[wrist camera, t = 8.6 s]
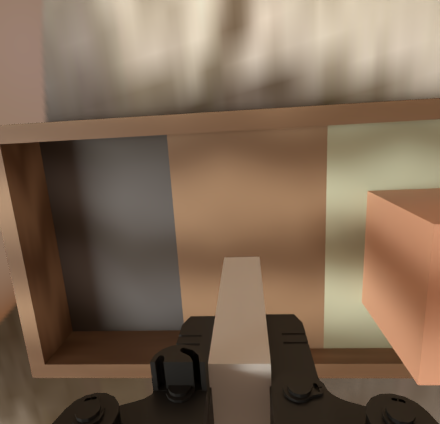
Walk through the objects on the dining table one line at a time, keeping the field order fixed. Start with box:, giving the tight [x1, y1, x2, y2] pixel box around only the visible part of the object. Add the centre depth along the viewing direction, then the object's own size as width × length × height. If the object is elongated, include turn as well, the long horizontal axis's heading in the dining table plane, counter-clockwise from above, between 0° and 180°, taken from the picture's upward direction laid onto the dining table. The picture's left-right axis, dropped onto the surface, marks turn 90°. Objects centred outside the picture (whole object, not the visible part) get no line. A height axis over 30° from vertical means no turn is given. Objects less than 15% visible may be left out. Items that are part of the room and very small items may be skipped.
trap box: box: [0, 98, 440, 378], centre depth 21 cm, size 16×42×4 cm, turn 93°
